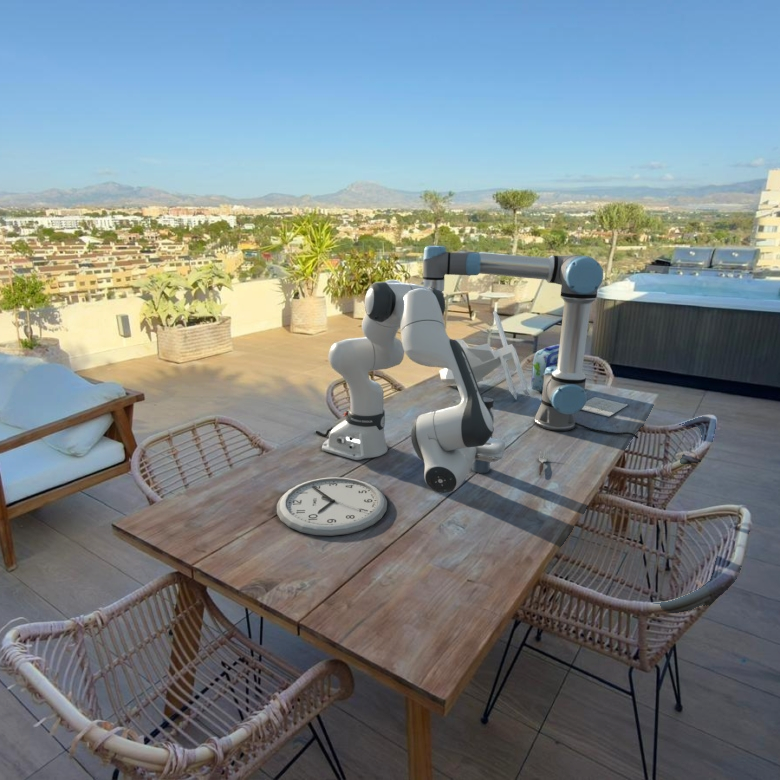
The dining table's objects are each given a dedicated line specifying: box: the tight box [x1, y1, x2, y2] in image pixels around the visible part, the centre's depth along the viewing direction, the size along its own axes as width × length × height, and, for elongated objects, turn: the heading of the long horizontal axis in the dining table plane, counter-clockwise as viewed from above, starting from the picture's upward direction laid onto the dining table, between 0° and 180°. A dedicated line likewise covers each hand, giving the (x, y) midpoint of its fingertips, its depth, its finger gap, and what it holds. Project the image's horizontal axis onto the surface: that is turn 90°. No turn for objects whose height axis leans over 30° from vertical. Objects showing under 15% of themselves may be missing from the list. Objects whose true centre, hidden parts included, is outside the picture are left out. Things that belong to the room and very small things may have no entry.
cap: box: [482, 396, 494, 409], centre depth 159 cm, size 4×4×2 cm
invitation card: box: [580, 396, 629, 418], centre depth 226 cm, size 21×1×15 cm
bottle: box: [471, 408, 495, 474], centre depth 162 cm, size 6×6×23 cm
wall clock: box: [276, 476, 388, 537], centre depth 142 cm, size 30×2×30 cm
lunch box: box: [530, 344, 560, 393], centre depth 247 cm, size 26×11×21 cm, turn 134°
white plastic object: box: [438, 310, 531, 400], centre depth 245 cm, size 37×45×31 cm
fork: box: [538, 451, 548, 475], centre depth 168 cm, size 3×16×2 cm, turn 160°
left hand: (470, 434), depth 140 cm, fingers open, 8 cm apart
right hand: (430, 351), depth 189 cm, fingers open, 13 cm apart
